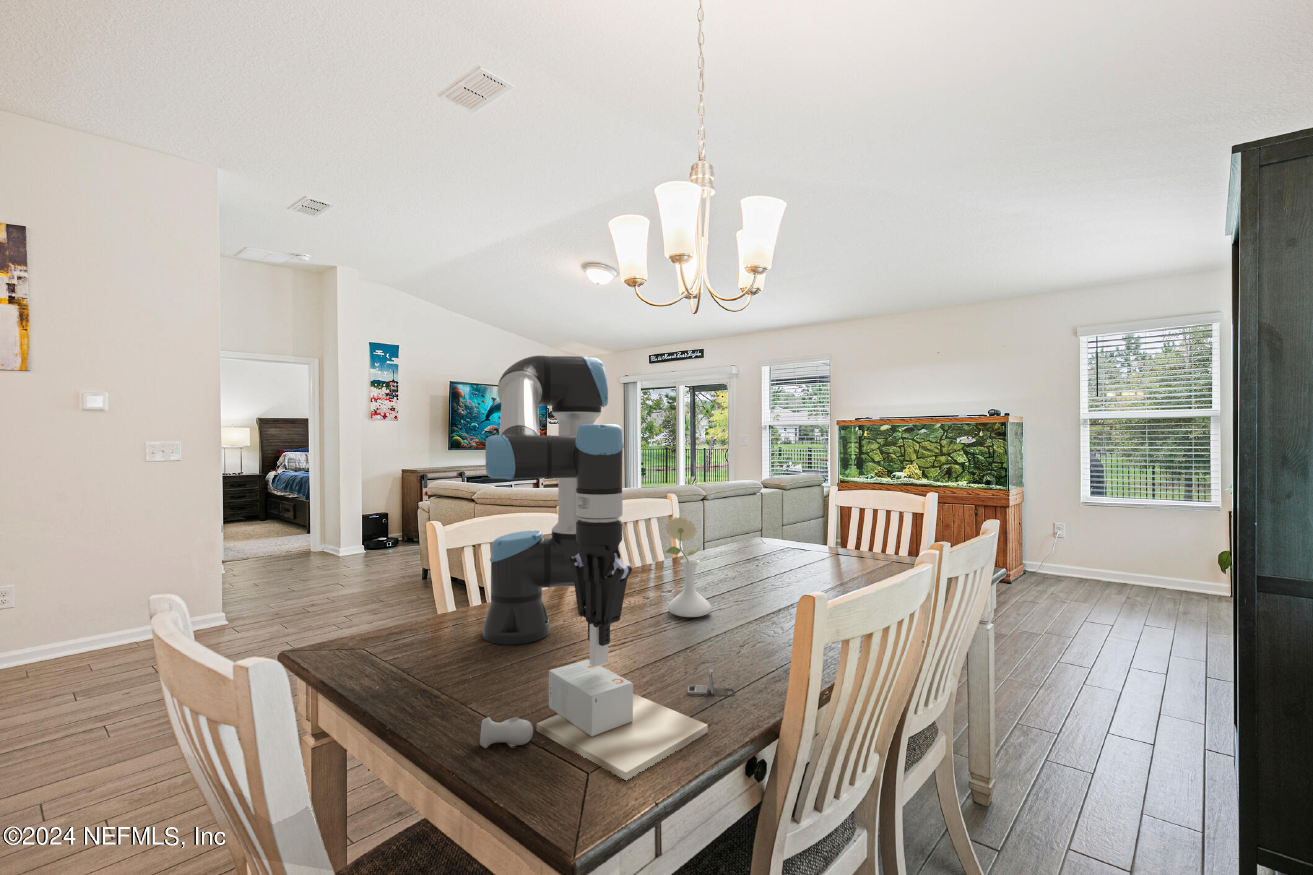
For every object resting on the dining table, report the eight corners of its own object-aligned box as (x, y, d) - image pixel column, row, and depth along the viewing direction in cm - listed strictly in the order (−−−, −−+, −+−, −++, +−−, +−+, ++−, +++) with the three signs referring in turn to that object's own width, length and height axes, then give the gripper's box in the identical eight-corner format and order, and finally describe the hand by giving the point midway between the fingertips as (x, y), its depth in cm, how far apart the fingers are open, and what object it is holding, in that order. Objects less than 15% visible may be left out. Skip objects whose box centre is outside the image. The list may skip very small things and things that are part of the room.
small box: (547, 707, 100) (590, 738, 90) (548, 669, 100) (591, 695, 90) (588, 694, 105) (633, 722, 95) (589, 658, 105) (634, 681, 95)
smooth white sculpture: (534, 744, 93) (529, 750, 88) (482, 743, 93) (474, 750, 88) (537, 713, 94) (531, 718, 89) (485, 713, 94) (477, 718, 89)
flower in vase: (719, 612, 157) (719, 516, 156) (698, 624, 147) (698, 522, 147) (676, 604, 164) (676, 512, 163) (653, 615, 154) (654, 517, 154)
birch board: (536, 730, 94) (536, 723, 94) (619, 694, 108) (619, 687, 108) (626, 781, 81) (626, 772, 81) (707, 732, 94) (707, 724, 94)
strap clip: (687, 697, 107) (687, 673, 107) (687, 689, 110) (687, 666, 110) (735, 698, 107) (735, 674, 107) (733, 691, 110) (734, 668, 110)
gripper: (555, 516, 99) (555, 658, 99) (609, 525, 90) (609, 681, 91) (590, 512, 105) (589, 647, 105) (644, 520, 96) (643, 667, 96)
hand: (598, 662), depth 98 cm, fingers closed
